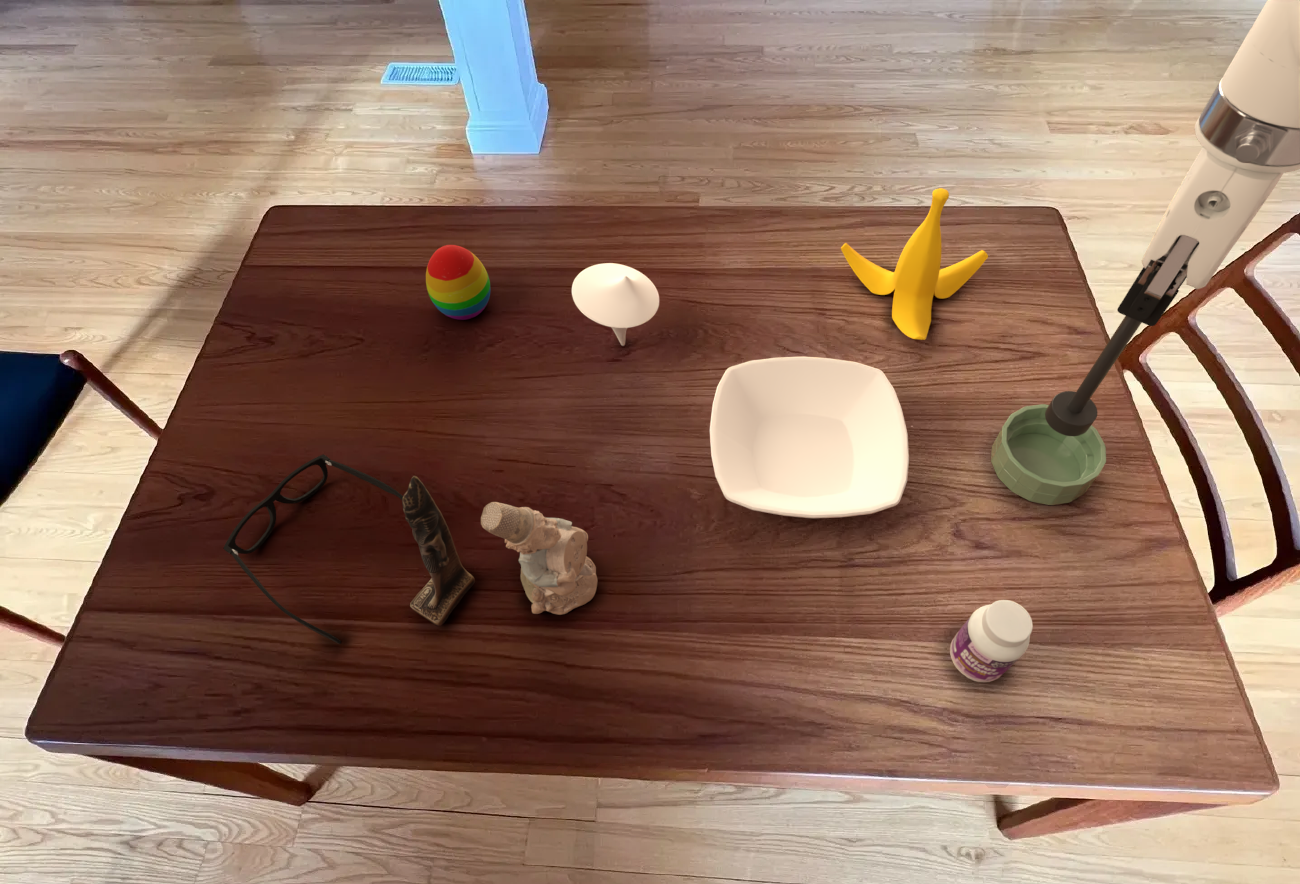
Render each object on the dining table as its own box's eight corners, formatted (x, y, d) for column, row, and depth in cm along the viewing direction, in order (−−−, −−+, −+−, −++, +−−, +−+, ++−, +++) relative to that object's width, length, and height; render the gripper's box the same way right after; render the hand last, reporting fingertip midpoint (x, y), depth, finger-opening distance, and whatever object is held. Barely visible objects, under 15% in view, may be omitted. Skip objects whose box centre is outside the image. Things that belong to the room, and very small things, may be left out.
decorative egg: (502, 286, 110) (486, 230, 102) (486, 330, 105) (468, 275, 97) (446, 282, 111) (425, 226, 103) (428, 325, 107) (405, 270, 98)
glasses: (339, 465, 95) (321, 440, 91) (444, 533, 88) (430, 510, 84) (229, 570, 88) (205, 549, 84) (334, 653, 81) (313, 635, 77)
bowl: (909, 543, 85) (920, 519, 80) (707, 536, 86) (707, 513, 82) (888, 384, 97) (897, 356, 92) (711, 381, 99) (711, 354, 94)
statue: (411, 611, 83) (339, 520, 67) (453, 558, 87) (395, 459, 70) (441, 630, 82) (376, 542, 65) (483, 575, 85) (431, 478, 69)
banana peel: (837, 260, 109) (857, 156, 96) (980, 268, 107) (1021, 162, 93) (836, 351, 100) (858, 250, 86) (992, 361, 98) (1040, 260, 84)
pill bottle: (946, 675, 77) (974, 640, 69) (951, 624, 79) (979, 585, 71) (1004, 691, 76) (1040, 657, 68) (1007, 639, 78) (1042, 600, 70)
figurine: (509, 616, 82) (461, 525, 66) (529, 544, 87) (489, 442, 71) (592, 628, 81) (564, 539, 65) (608, 554, 86) (586, 453, 69)
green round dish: (1103, 457, 89) (1121, 434, 86) (1066, 524, 85) (1083, 503, 81) (1013, 413, 93) (1026, 389, 90) (973, 474, 89) (985, 452, 85)
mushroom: (658, 310, 106) (654, 241, 96) (665, 373, 100) (661, 306, 90) (581, 317, 106) (569, 249, 96) (583, 380, 100) (570, 314, 90)
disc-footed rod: (1096, 415, 82) (1209, 256, 64) (1079, 443, 80) (1191, 288, 62) (1055, 395, 84) (1153, 235, 66) (1037, 423, 82) (1134, 265, 64)
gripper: (1294, 204, 49) (1152, 387, 64) (1357, 82, 55) (1214, 275, 70) (1168, 160, 52) (1061, 346, 67) (1242, 49, 58) (1129, 242, 73)
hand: (1140, 308), depth 69 cm, fingers closed on disc-footed rod, 1 cm apart
